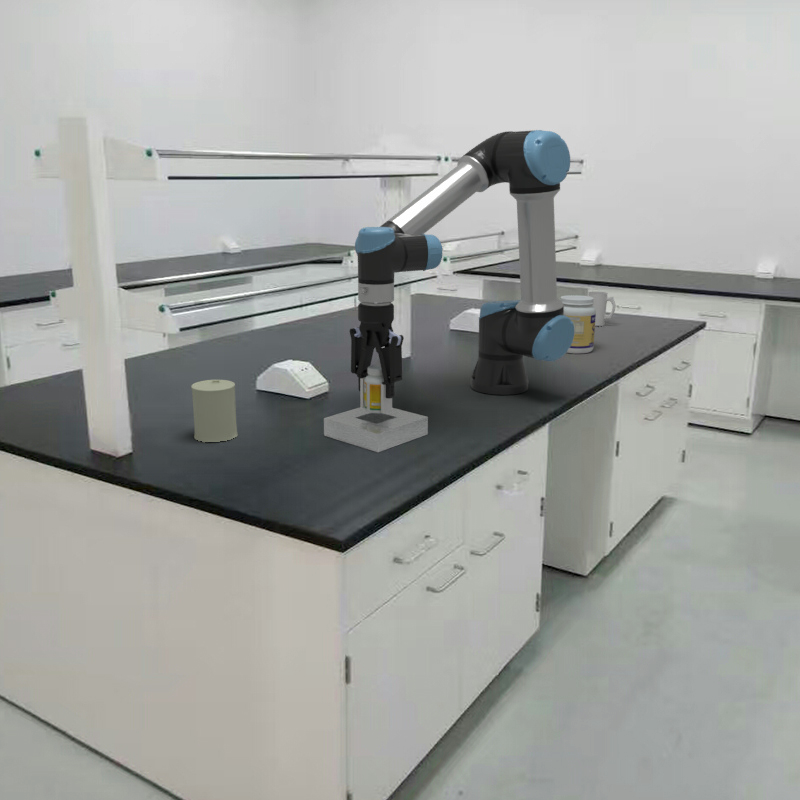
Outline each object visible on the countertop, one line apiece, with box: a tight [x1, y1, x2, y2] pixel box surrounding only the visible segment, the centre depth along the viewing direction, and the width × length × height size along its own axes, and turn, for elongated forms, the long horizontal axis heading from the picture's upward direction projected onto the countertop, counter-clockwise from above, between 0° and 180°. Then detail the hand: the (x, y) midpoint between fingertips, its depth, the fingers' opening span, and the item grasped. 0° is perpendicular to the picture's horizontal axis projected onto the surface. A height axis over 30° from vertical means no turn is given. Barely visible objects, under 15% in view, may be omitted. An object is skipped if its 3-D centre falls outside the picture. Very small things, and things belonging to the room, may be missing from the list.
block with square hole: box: [323, 407, 429, 453], centre depth 181 cm, size 16×16×4 cm
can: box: [190, 379, 239, 443], centre depth 179 cm, size 9×9×12 cm
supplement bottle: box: [364, 364, 384, 413], centre depth 179 cm, size 5×5×10 cm
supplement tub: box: [559, 294, 596, 355], centre depth 263 cm, size 12×12×17 cm
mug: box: [587, 290, 616, 326], centre depth 304 cm, size 10×7×12 cm, turn 63°
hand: (376, 409), depth 180 cm, fingers closed on supplement bottle, 5 cm apart
